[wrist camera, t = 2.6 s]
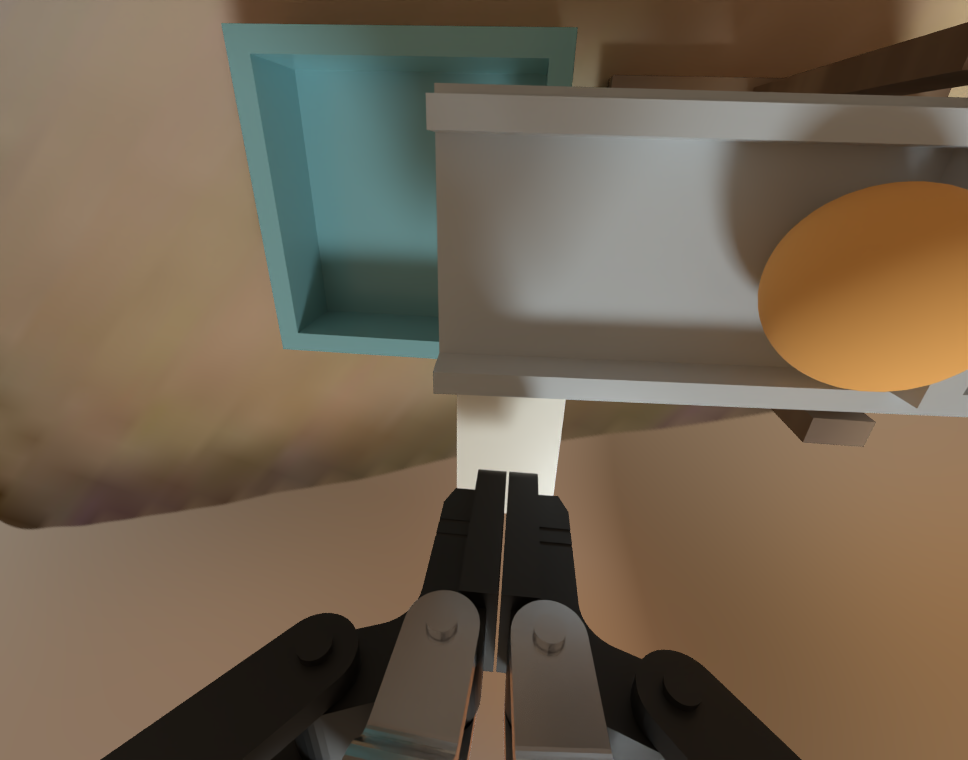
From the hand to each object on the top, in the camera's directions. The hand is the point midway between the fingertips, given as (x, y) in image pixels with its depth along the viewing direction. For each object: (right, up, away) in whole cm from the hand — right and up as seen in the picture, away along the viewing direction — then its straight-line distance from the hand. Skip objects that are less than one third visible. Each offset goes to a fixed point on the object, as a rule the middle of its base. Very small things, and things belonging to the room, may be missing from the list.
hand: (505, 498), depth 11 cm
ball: (+7, +5, -3) cm, 9 cm away
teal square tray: (-3, +11, +9) cm, 15 cm away
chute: (+7, +7, +7) cm, 13 cm away
